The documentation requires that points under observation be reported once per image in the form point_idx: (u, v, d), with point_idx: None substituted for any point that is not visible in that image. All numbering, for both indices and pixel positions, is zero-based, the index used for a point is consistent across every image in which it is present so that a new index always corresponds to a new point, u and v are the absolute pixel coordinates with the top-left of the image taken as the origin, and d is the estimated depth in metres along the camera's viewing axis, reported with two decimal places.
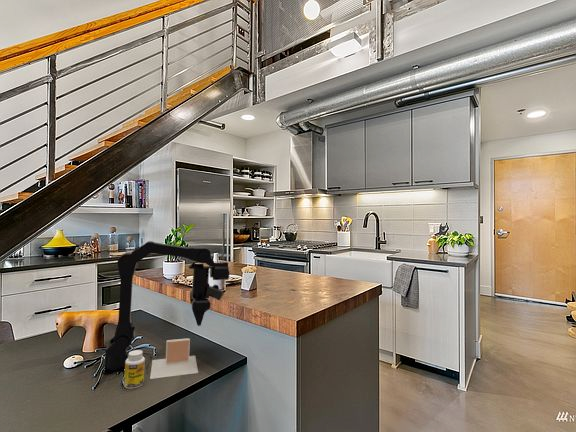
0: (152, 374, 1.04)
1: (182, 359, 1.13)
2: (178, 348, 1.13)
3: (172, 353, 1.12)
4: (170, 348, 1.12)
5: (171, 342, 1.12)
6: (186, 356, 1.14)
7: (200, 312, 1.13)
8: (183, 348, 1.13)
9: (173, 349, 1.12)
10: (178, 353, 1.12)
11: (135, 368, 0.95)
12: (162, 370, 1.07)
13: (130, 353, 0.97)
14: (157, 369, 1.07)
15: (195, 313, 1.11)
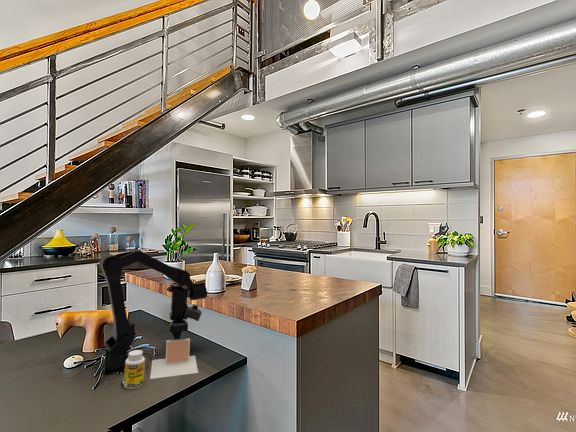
0: (152, 374, 1.04)
1: (182, 359, 1.13)
2: (178, 348, 1.13)
3: (172, 353, 1.12)
4: (170, 348, 1.12)
5: (171, 342, 1.12)
6: (186, 356, 1.14)
7: None
8: (183, 348, 1.13)
9: (173, 349, 1.12)
10: (178, 353, 1.12)
11: (135, 368, 0.95)
12: (162, 370, 1.07)
13: (130, 353, 0.97)
14: (157, 369, 1.07)
15: None
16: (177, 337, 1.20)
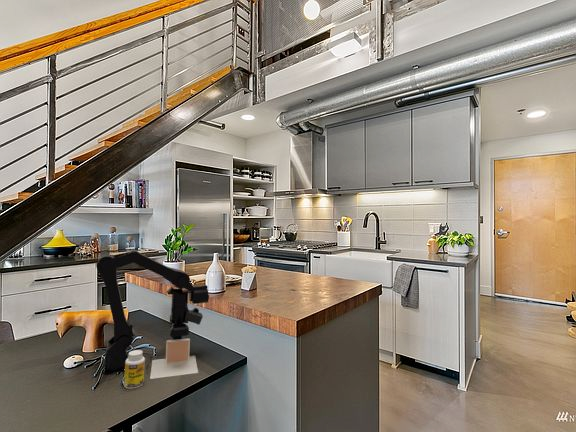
0: (152, 374, 1.04)
1: (182, 359, 1.13)
2: (178, 348, 1.13)
3: (172, 353, 1.12)
4: (170, 348, 1.12)
5: (171, 342, 1.12)
6: (186, 356, 1.14)
7: None
8: (183, 348, 1.13)
9: (173, 349, 1.12)
10: (178, 353, 1.12)
11: (135, 368, 0.95)
12: (162, 370, 1.07)
13: (130, 353, 0.97)
14: (157, 369, 1.07)
15: None
16: None
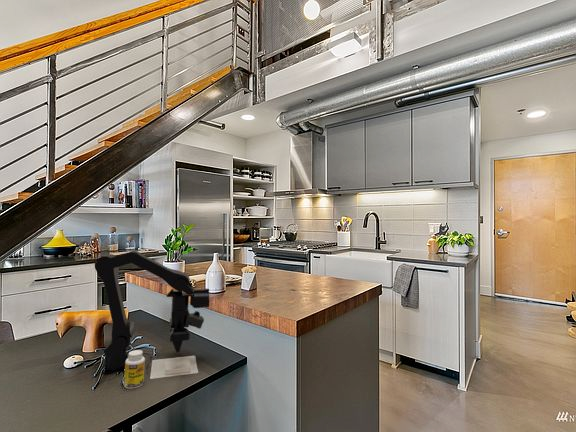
0: (152, 374, 1.04)
1: None
2: None
3: None
4: None
5: (170, 373, 1.04)
6: None
7: None
8: None
9: None
10: None
11: (135, 368, 0.95)
12: (162, 370, 1.07)
13: (130, 353, 0.97)
14: (157, 369, 1.07)
15: None
16: (178, 346, 1.12)
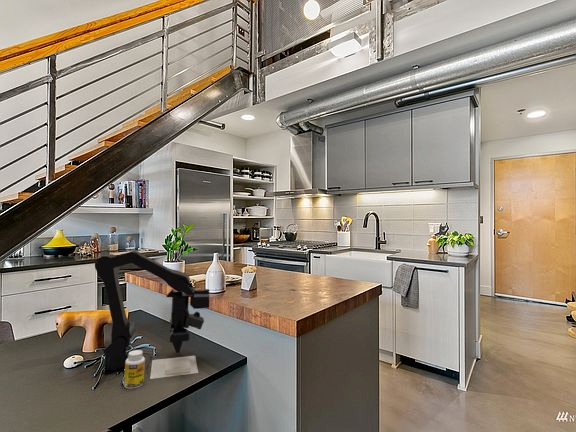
0: (152, 374, 1.04)
1: None
2: None
3: None
4: None
5: (170, 373, 1.04)
6: None
7: None
8: None
9: None
10: None
11: (135, 368, 0.95)
12: (162, 370, 1.07)
13: (130, 353, 0.97)
14: (157, 369, 1.07)
15: None
16: (178, 347, 1.11)
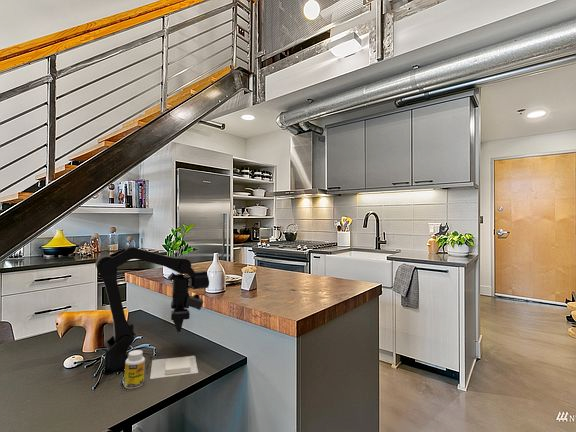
0: (152, 374, 1.04)
1: None
2: None
3: None
4: None
5: (170, 373, 1.04)
6: None
7: None
8: None
9: None
10: None
11: (135, 368, 0.95)
12: (162, 370, 1.07)
13: (130, 353, 0.97)
14: (157, 369, 1.07)
15: (174, 320, 1.17)
16: (179, 326, 1.18)
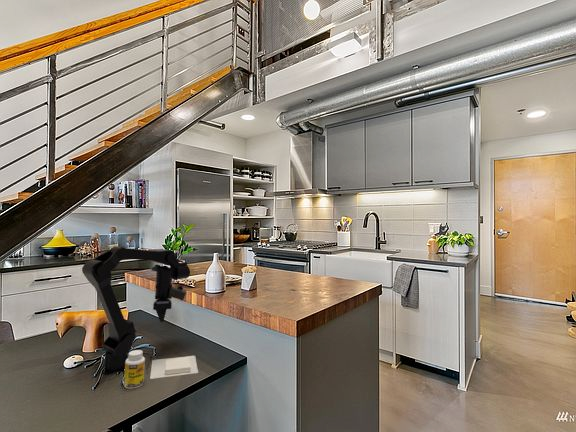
0: (152, 374, 1.04)
1: None
2: None
3: None
4: None
5: (170, 373, 1.04)
6: None
7: (162, 309, 1.20)
8: None
9: None
10: None
11: (135, 368, 0.95)
12: (162, 370, 1.07)
13: (130, 353, 0.97)
14: (157, 369, 1.07)
15: (157, 310, 1.19)
16: (162, 316, 1.21)
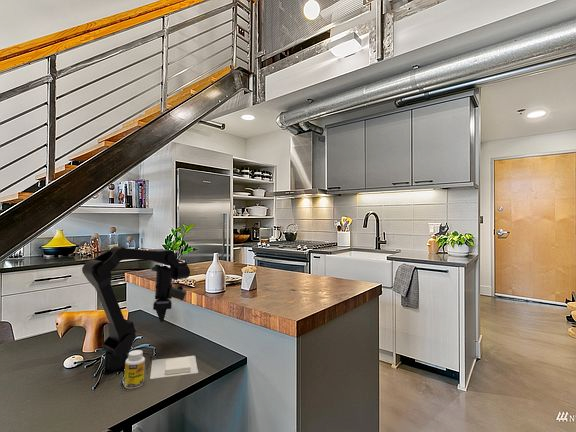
0: (152, 374, 1.04)
1: None
2: None
3: None
4: None
5: (170, 373, 1.04)
6: None
7: (162, 309, 1.20)
8: None
9: None
10: None
11: (135, 368, 0.95)
12: (162, 370, 1.07)
13: (130, 353, 0.97)
14: (157, 369, 1.07)
15: (157, 310, 1.19)
16: (162, 316, 1.21)
